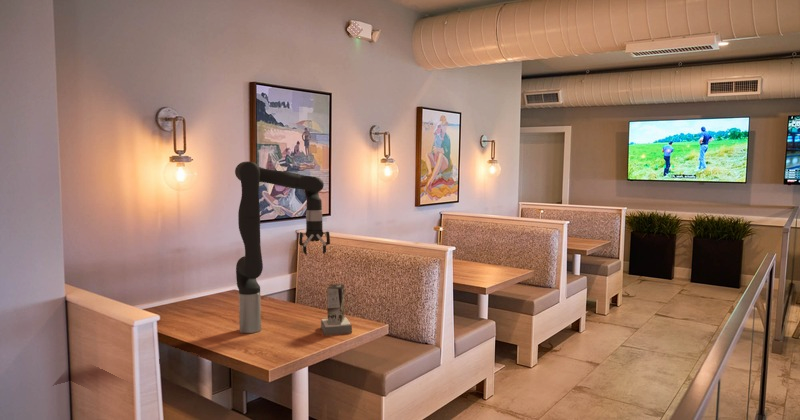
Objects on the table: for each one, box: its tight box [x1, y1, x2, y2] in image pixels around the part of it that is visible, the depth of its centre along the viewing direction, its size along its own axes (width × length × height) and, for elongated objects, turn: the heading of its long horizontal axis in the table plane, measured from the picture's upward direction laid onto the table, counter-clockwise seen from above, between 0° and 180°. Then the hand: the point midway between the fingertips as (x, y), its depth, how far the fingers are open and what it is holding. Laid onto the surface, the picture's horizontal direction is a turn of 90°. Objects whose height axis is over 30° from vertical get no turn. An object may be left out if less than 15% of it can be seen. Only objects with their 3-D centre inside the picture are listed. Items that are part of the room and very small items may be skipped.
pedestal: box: [320, 316, 353, 336], centre depth 252 cm, size 12×12×4 cm
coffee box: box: [326, 283, 345, 324], centre depth 251 cm, size 9×6×16 cm
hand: (314, 253), depth 265 cm, fingers open, 8 cm apart
